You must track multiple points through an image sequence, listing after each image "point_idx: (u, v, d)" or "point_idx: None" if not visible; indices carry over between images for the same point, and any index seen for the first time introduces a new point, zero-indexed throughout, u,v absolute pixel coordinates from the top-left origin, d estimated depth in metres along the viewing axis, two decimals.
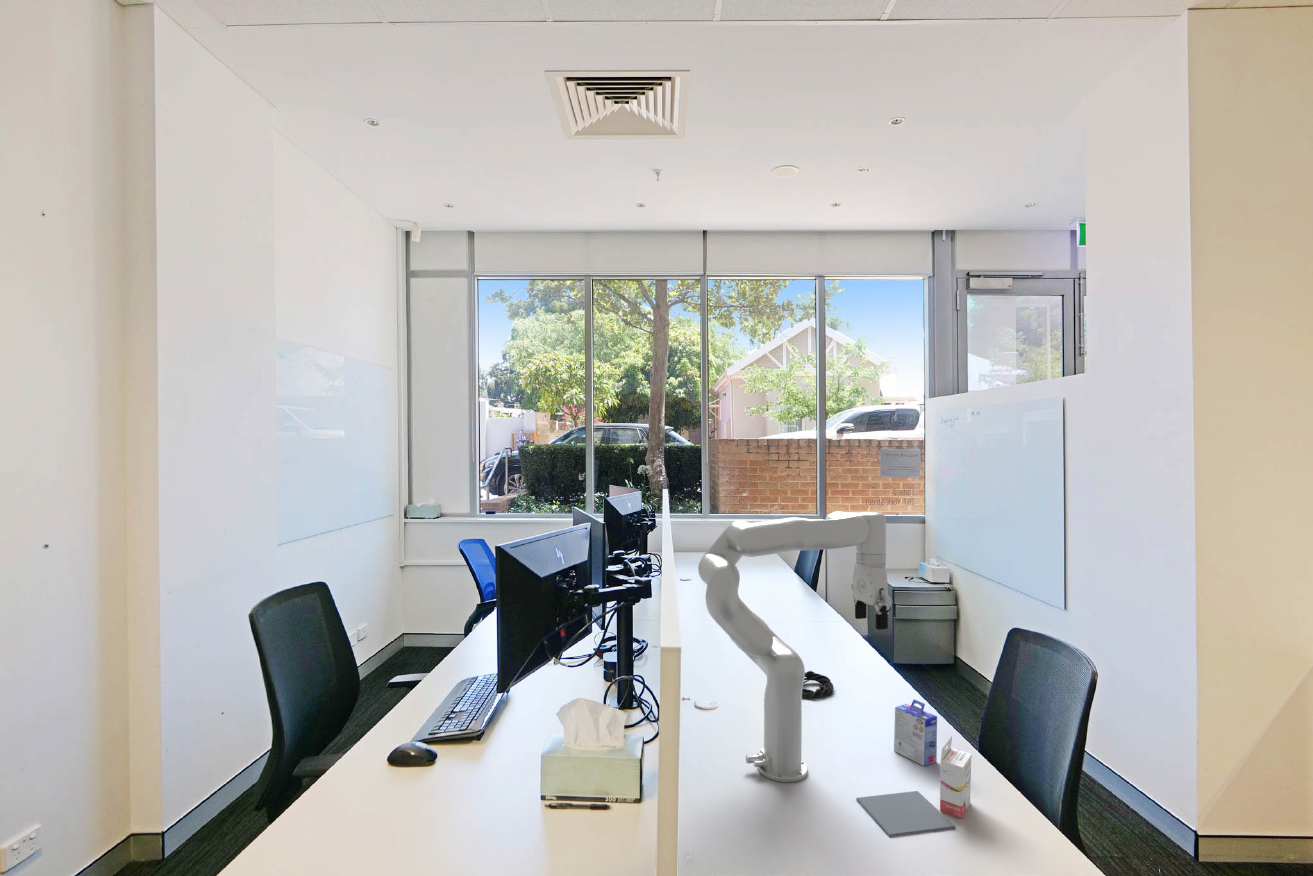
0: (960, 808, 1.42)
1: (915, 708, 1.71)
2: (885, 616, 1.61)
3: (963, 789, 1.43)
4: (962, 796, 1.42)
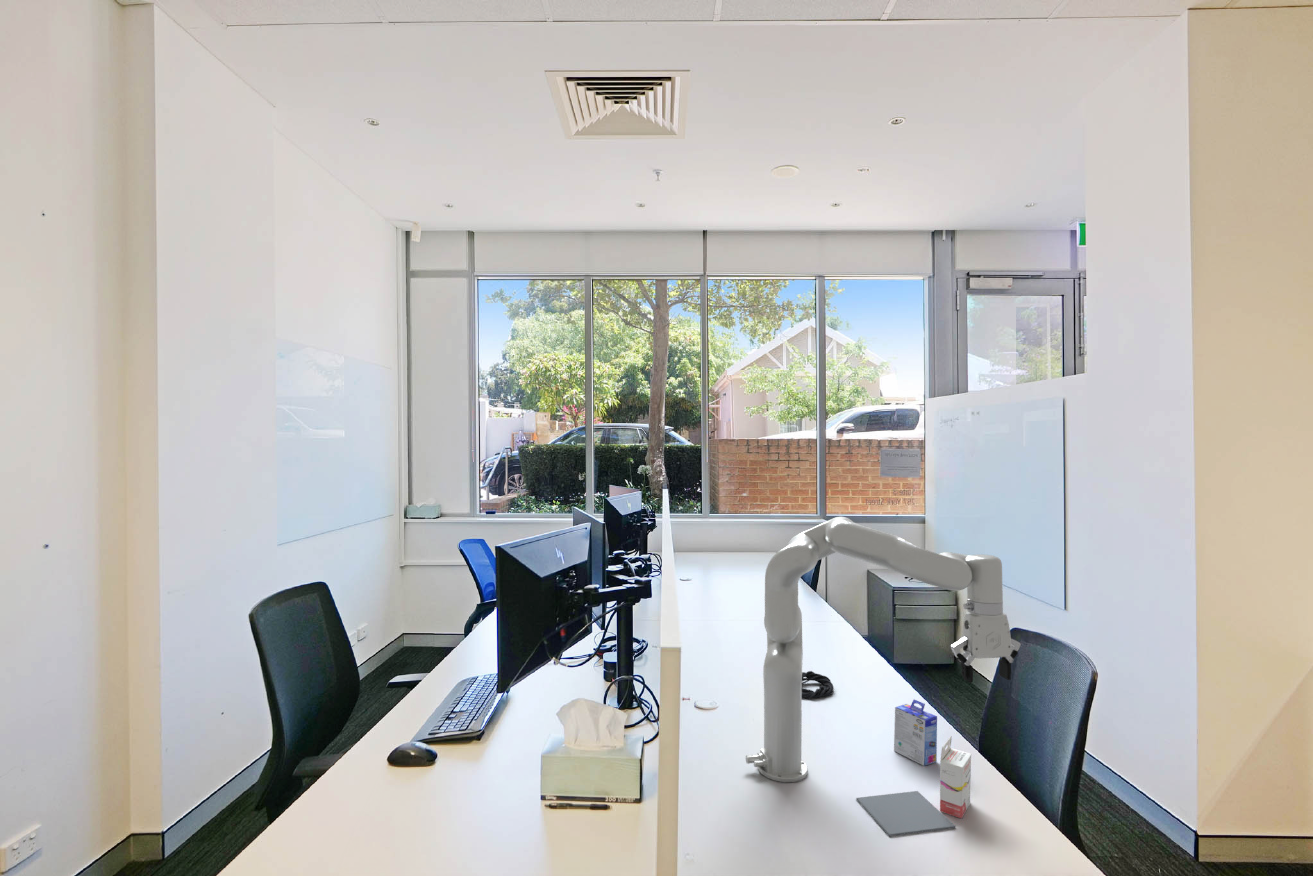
0: (960, 808, 1.42)
1: (915, 708, 1.71)
2: None
3: (963, 789, 1.43)
4: (962, 796, 1.43)
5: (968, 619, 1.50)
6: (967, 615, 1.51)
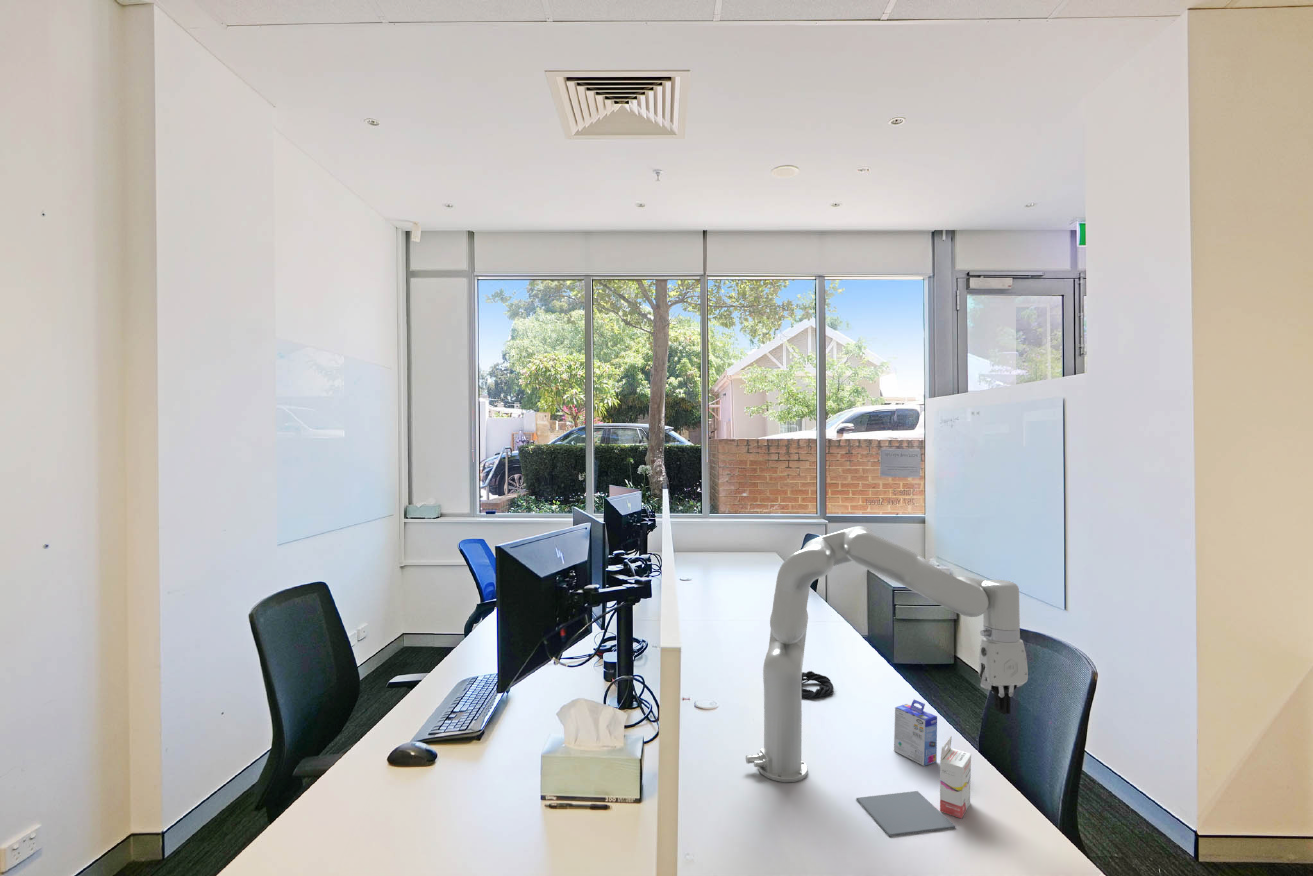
0: (960, 808, 1.42)
1: (915, 708, 1.71)
2: None
3: (963, 789, 1.43)
4: (962, 796, 1.43)
5: (985, 646, 1.47)
6: (984, 642, 1.48)
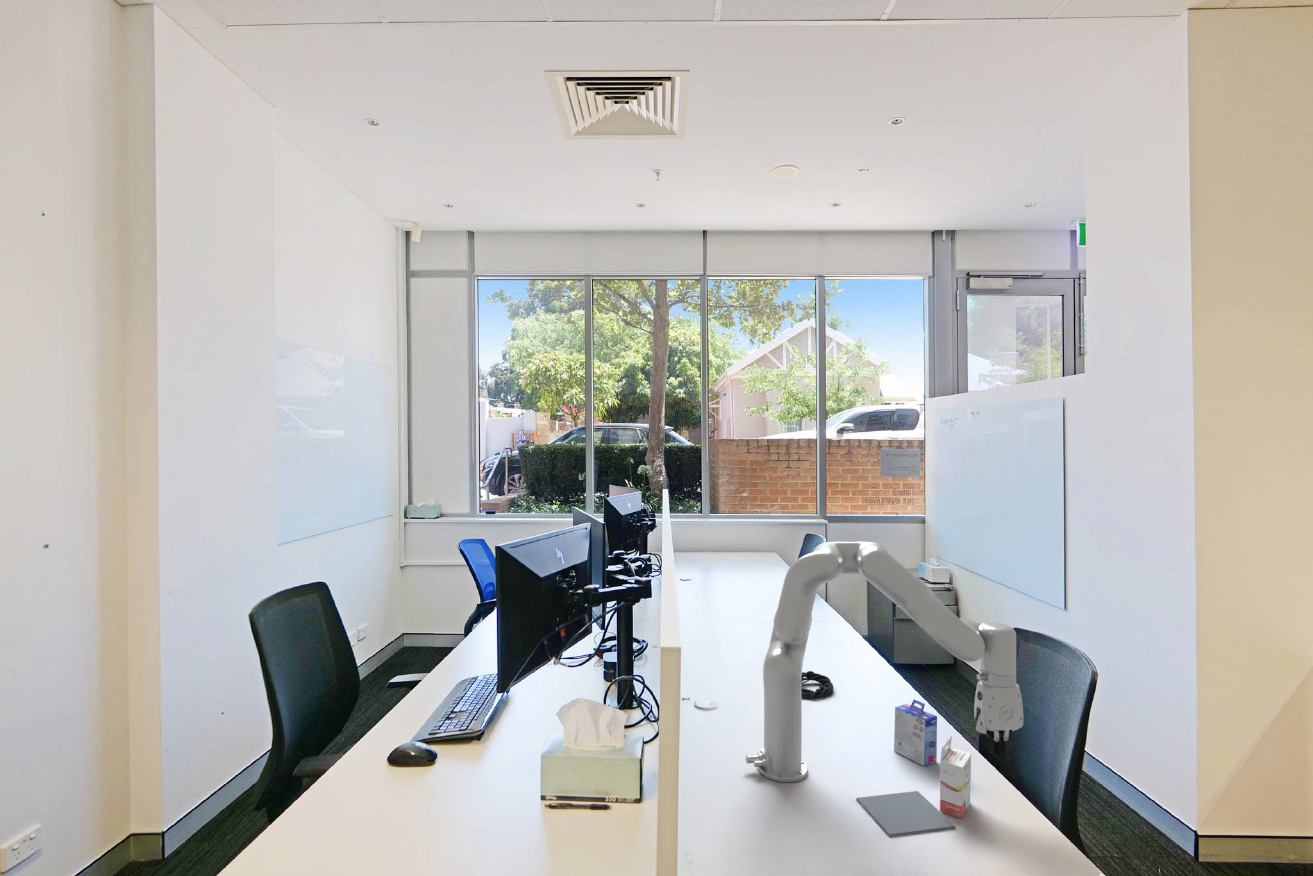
0: (960, 808, 1.42)
1: (915, 708, 1.71)
2: None
3: (963, 789, 1.43)
4: (962, 796, 1.42)
5: (981, 690, 1.47)
6: (980, 686, 1.48)
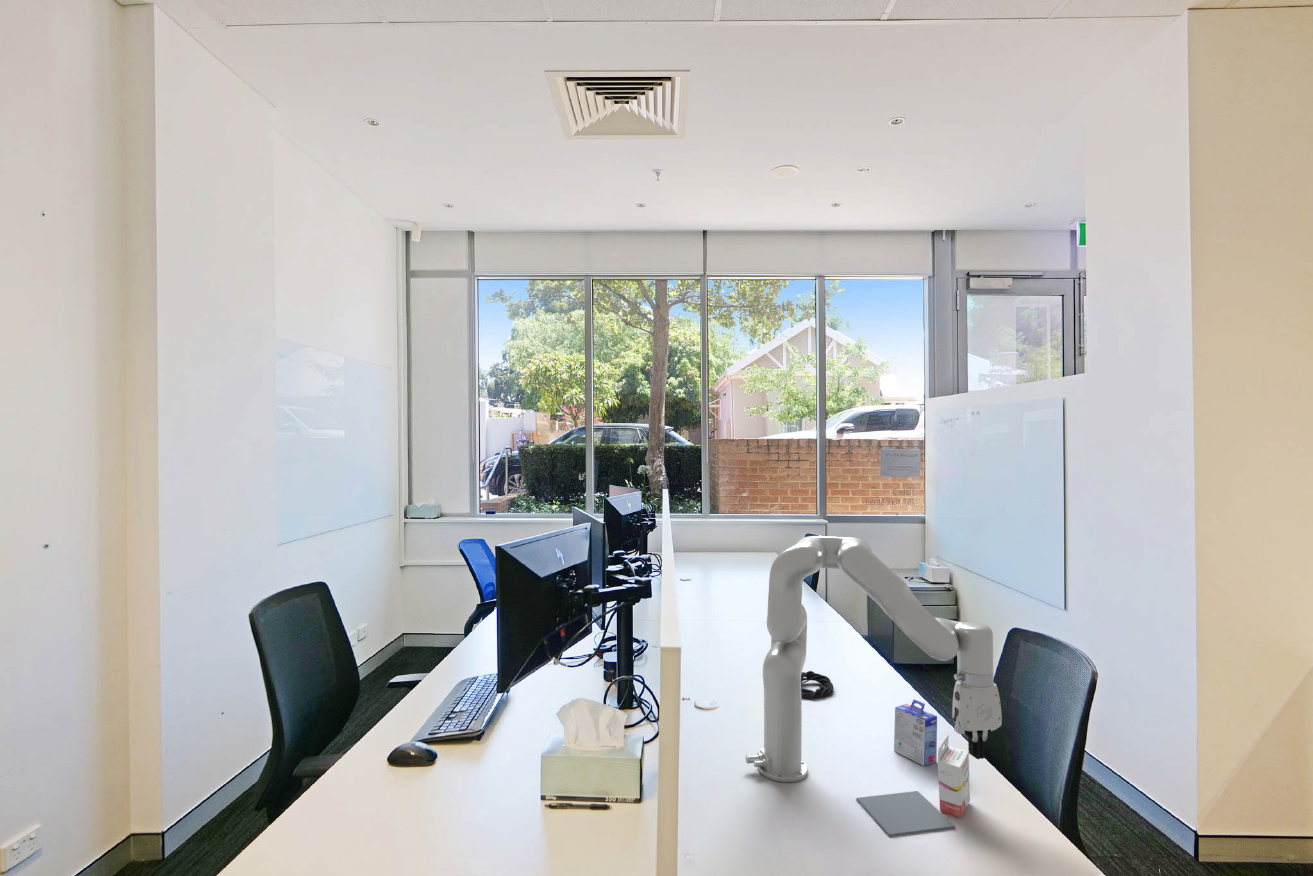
0: (959, 807, 1.42)
1: (915, 708, 1.71)
2: None
3: (961, 789, 1.43)
4: (961, 795, 1.42)
5: (959, 690, 1.46)
6: (958, 686, 1.47)
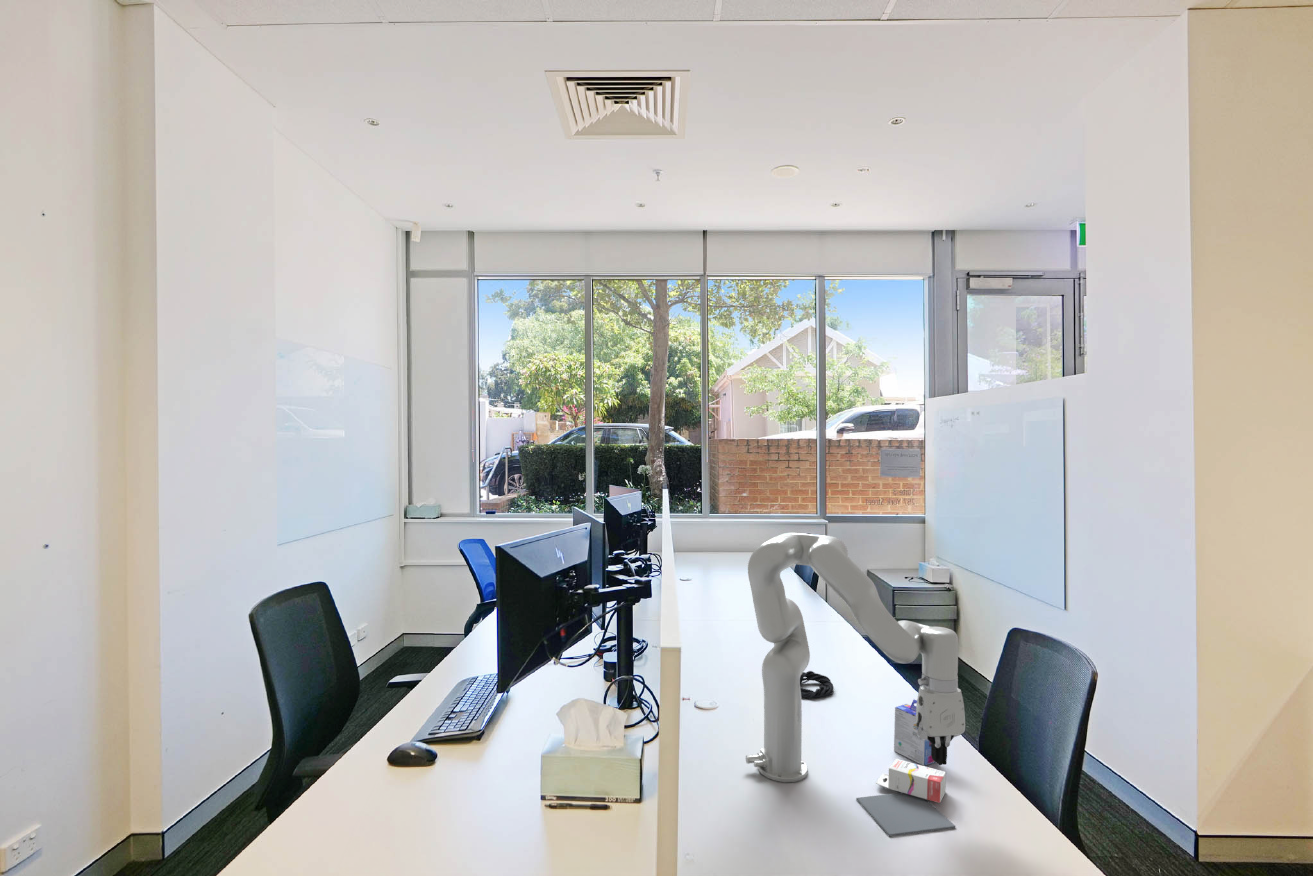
0: (929, 780, 1.48)
1: (915, 708, 1.71)
2: None
3: (912, 773, 1.51)
4: (918, 775, 1.50)
5: (922, 695, 1.44)
6: (922, 691, 1.45)
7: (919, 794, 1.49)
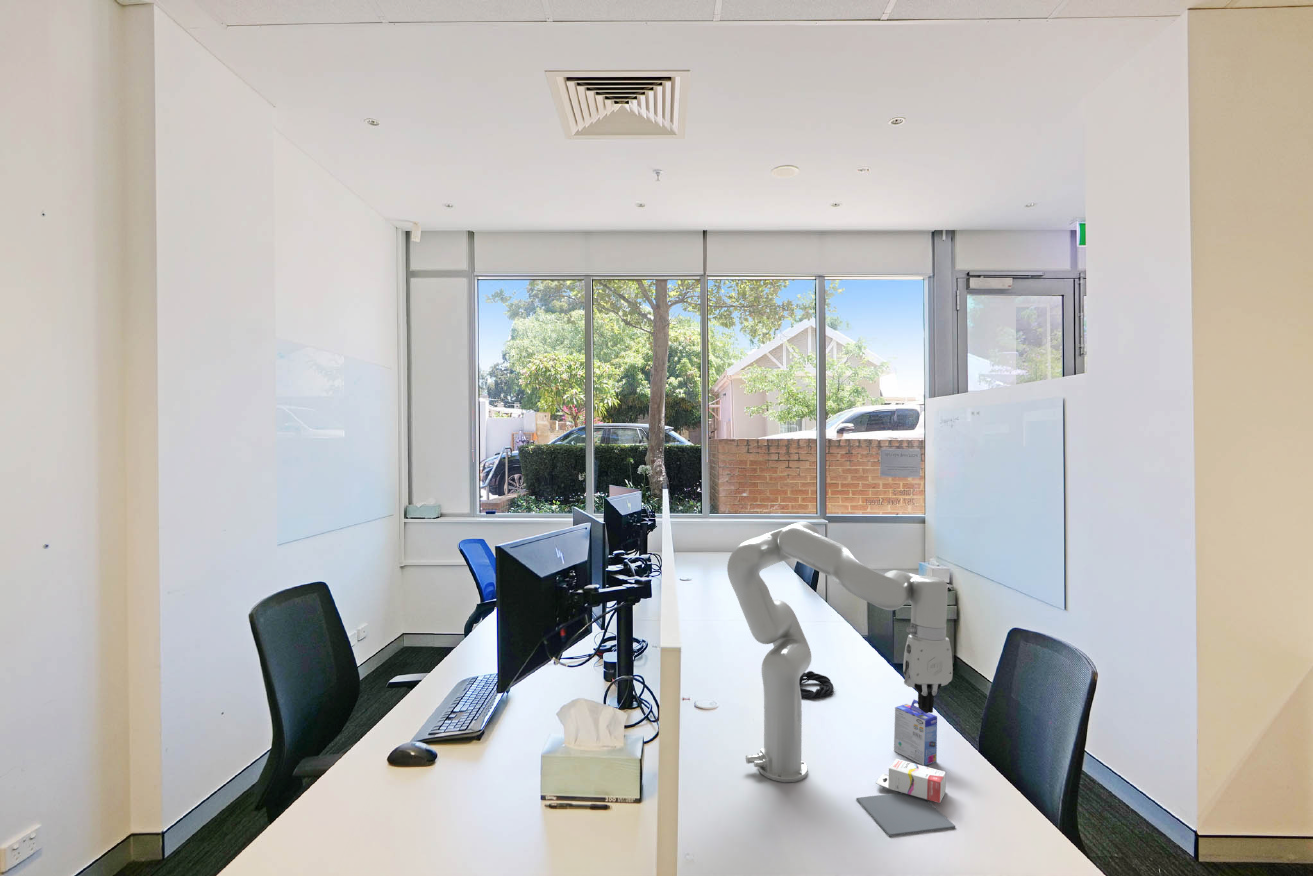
0: (929, 780, 1.48)
1: (915, 708, 1.71)
2: None
3: (912, 773, 1.51)
4: (918, 775, 1.50)
5: (910, 643, 1.44)
6: (910, 639, 1.45)
7: (919, 794, 1.49)
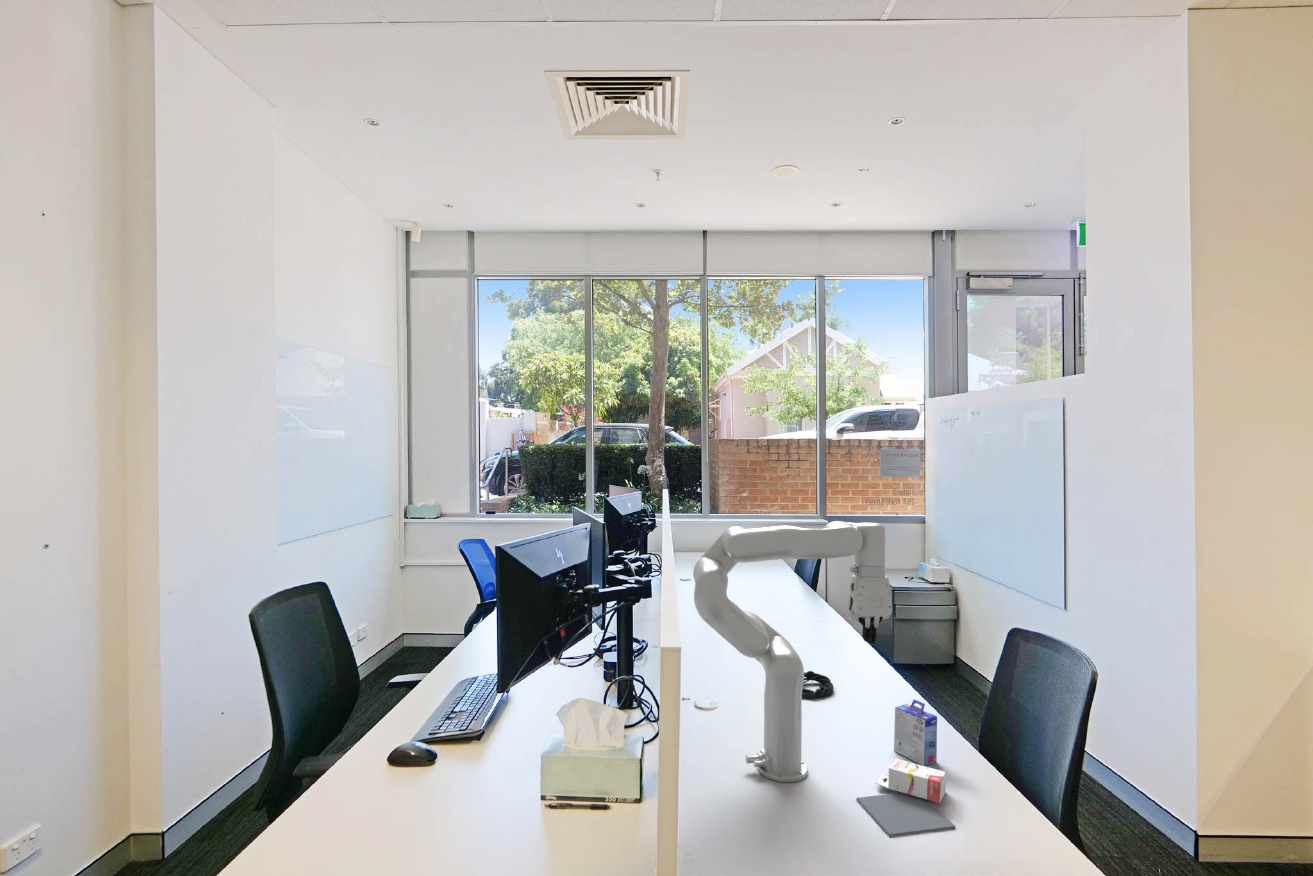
0: (929, 780, 1.48)
1: (915, 708, 1.71)
2: None
3: (912, 773, 1.51)
4: (918, 775, 1.50)
5: (854, 581, 1.62)
6: (853, 578, 1.62)
7: (919, 794, 1.49)
